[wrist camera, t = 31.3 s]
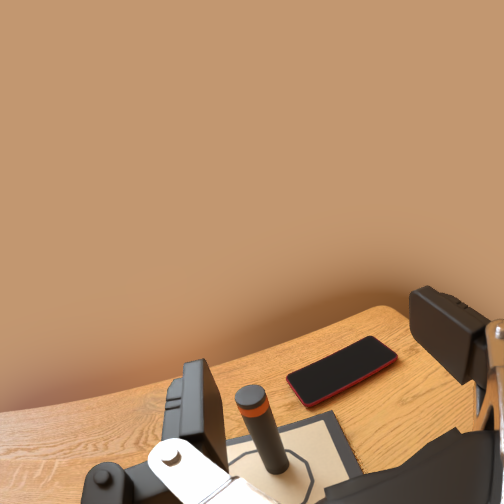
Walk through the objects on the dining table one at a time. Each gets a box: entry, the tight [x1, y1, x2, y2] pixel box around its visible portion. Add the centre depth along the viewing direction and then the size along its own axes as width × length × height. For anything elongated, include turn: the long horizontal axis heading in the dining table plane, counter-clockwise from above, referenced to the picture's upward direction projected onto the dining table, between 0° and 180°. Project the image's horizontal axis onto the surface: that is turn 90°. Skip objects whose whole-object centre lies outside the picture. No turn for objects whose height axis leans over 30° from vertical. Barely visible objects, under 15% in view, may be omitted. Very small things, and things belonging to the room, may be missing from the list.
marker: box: [235, 385, 289, 475], centre depth 26 cm, size 3×3×12 cm
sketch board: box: [226, 410, 363, 504], centre depth 26 cm, size 20×16×1 cm
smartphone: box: [286, 336, 398, 407], centre depth 41 cm, size 7×1×15 cm
